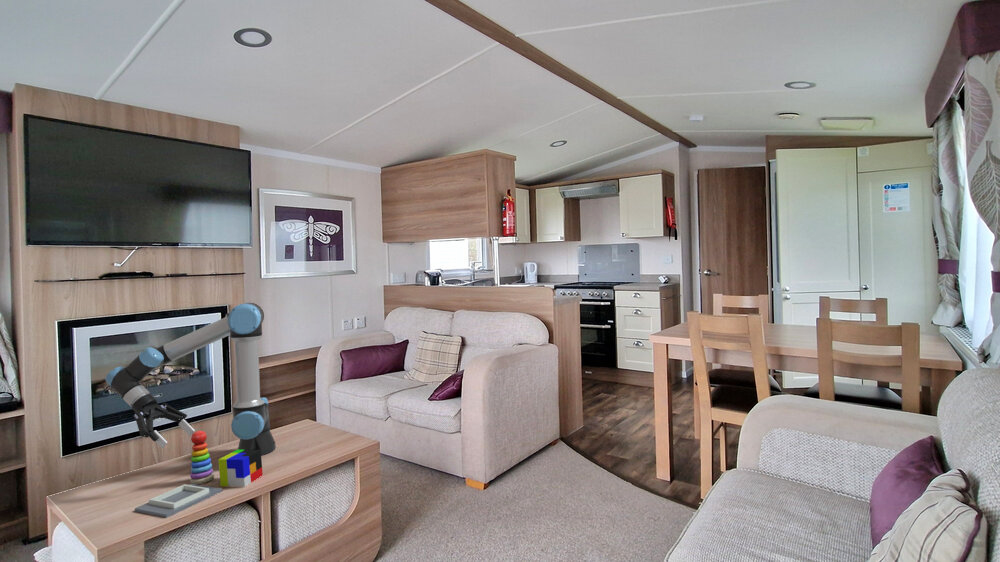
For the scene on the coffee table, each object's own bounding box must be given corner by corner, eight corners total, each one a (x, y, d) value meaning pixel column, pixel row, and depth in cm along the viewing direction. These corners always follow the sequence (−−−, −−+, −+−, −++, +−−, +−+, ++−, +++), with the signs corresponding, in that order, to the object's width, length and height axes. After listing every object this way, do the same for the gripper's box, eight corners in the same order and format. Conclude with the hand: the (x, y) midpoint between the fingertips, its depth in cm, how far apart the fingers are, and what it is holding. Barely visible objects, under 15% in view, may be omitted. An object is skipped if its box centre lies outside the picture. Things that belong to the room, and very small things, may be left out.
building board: (191, 486, 191) (191, 479, 191) (222, 491, 184) (221, 484, 184) (134, 511, 172) (134, 503, 172) (166, 517, 166) (166, 509, 166)
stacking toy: (219, 477, 198) (215, 428, 197) (199, 486, 190) (195, 435, 190) (205, 475, 201) (201, 427, 201) (185, 483, 194) (181, 434, 193)
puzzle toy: (244, 487, 187) (242, 459, 187) (220, 486, 189) (218, 459, 189) (262, 475, 197) (260, 449, 197) (239, 475, 199) (237, 449, 199)
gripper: (161, 399, 211) (197, 435, 209) (105, 417, 186) (146, 458, 184) (172, 385, 210) (208, 421, 208) (117, 402, 185) (158, 443, 183)
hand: (179, 439), depth 196 cm, fingers open, 13 cm apart
